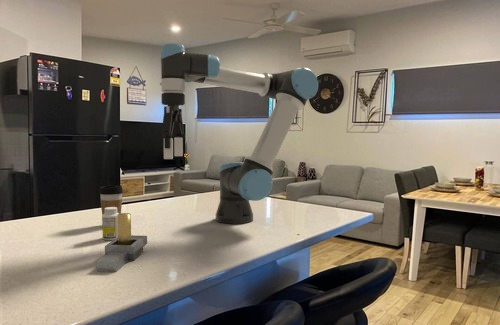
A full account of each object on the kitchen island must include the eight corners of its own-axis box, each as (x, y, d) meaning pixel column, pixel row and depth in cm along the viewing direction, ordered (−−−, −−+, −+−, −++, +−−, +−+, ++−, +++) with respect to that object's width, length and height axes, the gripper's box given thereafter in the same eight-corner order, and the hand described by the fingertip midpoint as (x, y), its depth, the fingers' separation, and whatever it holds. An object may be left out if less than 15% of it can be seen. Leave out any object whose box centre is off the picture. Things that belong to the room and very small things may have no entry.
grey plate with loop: (127, 243, 121) (126, 230, 121) (151, 243, 121) (151, 231, 120) (91, 271, 97) (90, 255, 96) (122, 271, 96) (121, 256, 96)
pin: (133, 254, 110) (132, 213, 109) (128, 258, 107) (127, 215, 106) (121, 253, 110) (120, 212, 109) (116, 257, 107) (115, 215, 106)
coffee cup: (116, 228, 138) (115, 187, 137) (95, 227, 140) (94, 187, 139) (127, 223, 147) (127, 184, 145) (108, 222, 148) (107, 183, 147)
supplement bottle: (114, 235, 130) (114, 205, 129) (123, 238, 126) (123, 207, 126) (99, 238, 126) (98, 208, 125) (108, 241, 122) (107, 210, 121)
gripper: (171, 96, 138) (172, 155, 140) (150, 88, 113) (151, 160, 115) (192, 96, 137) (192, 155, 139) (175, 88, 113) (175, 160, 114)
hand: (173, 157), depth 127 cm, fingers open, 13 cm apart
